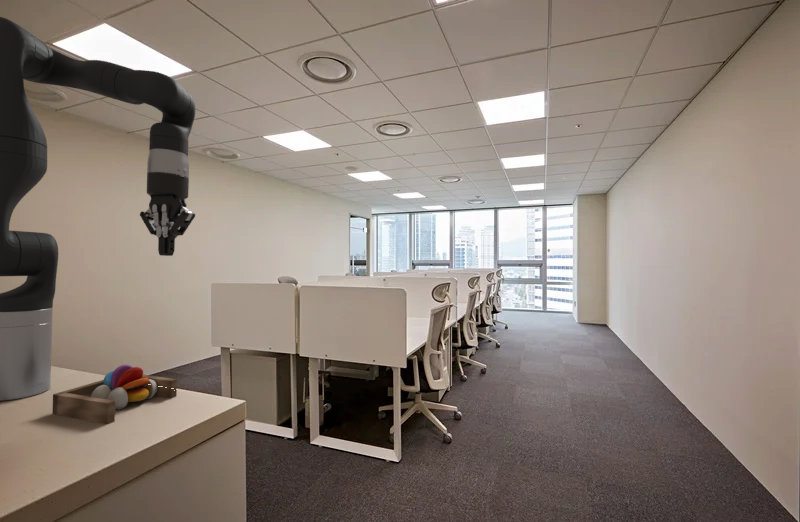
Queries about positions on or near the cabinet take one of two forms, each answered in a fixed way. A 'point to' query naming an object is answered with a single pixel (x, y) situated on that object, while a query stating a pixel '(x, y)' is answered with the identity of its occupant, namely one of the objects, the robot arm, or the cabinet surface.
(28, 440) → the cabinet surface
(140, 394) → the rainbow disc stack
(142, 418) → the cabinet surface
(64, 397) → the bay
